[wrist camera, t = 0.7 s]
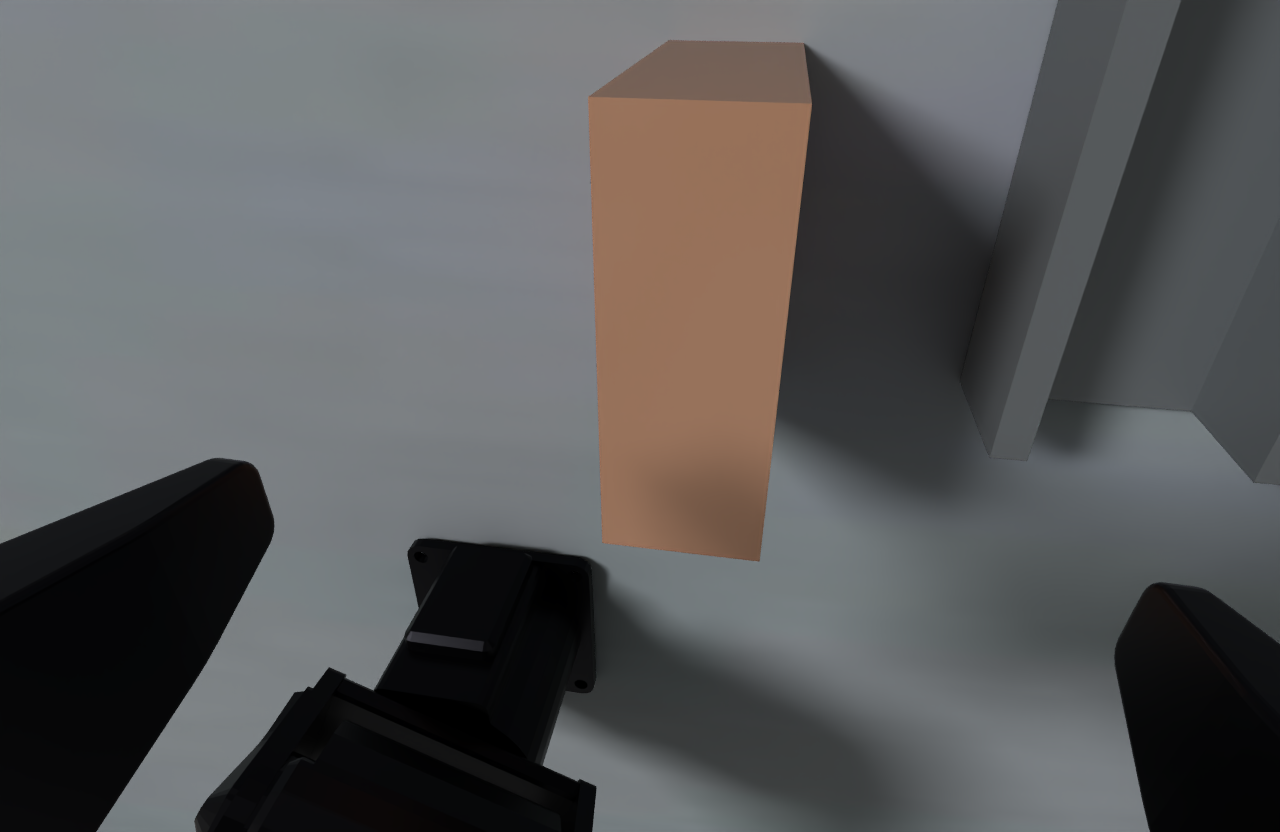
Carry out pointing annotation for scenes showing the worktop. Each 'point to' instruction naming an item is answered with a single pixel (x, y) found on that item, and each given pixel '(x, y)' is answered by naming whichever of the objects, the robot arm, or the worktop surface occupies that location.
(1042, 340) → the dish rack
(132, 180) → the worktop surface
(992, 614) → the worktop surface
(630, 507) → the tall tan upright block
